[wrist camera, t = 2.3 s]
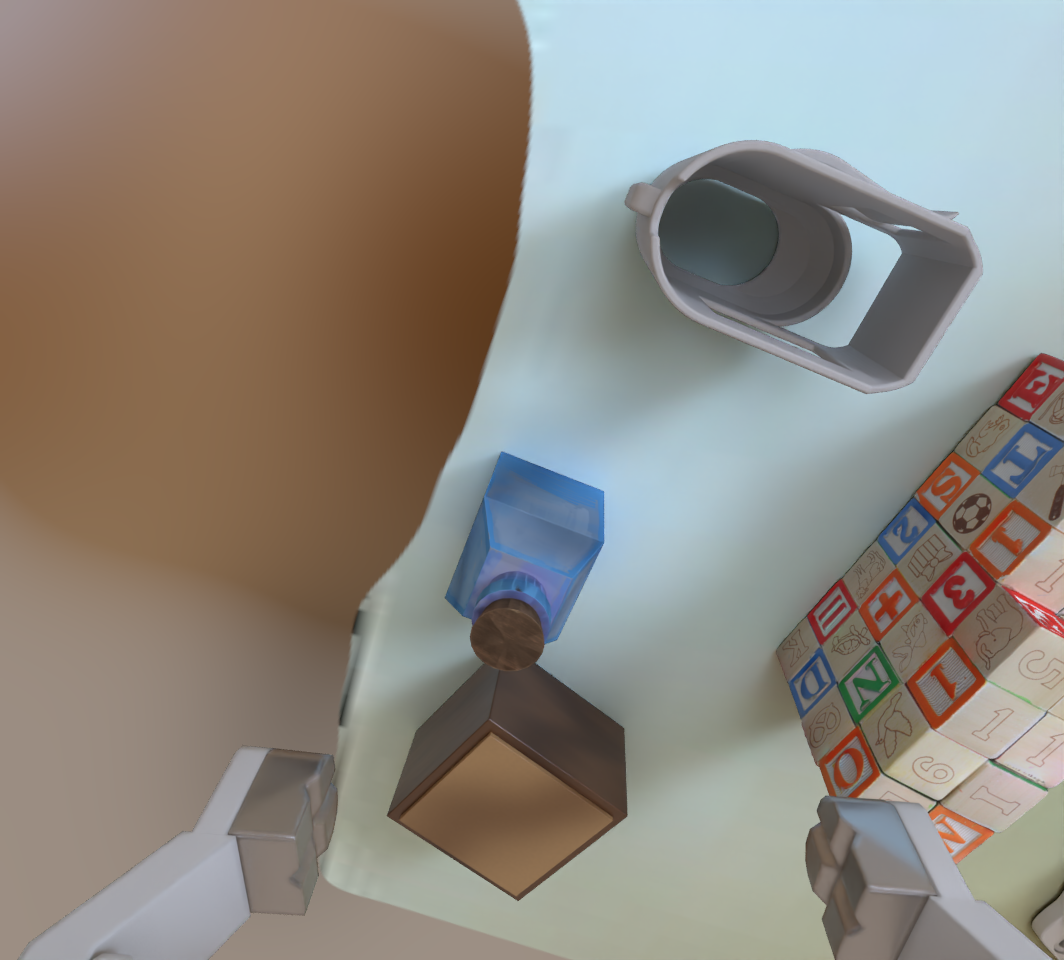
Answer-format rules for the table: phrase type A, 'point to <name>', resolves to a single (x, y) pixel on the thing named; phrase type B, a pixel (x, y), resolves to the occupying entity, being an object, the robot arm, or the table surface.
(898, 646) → the stack of blocks
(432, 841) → the walnut block
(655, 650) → the table surface
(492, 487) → the perfume bottle
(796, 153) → the cable organizer
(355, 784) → the table surface
